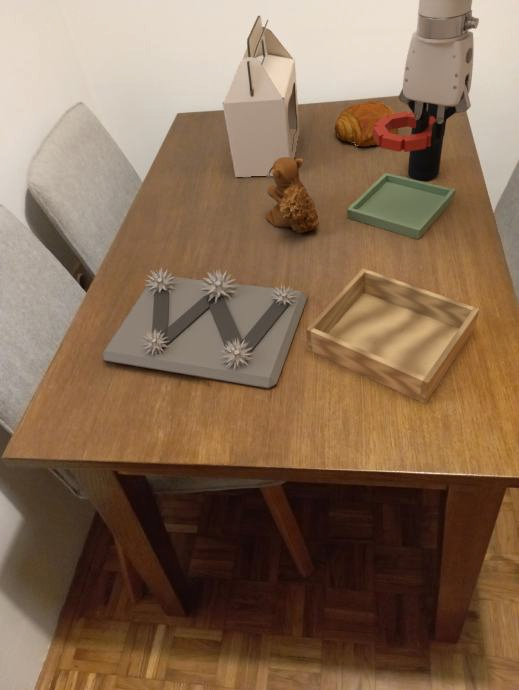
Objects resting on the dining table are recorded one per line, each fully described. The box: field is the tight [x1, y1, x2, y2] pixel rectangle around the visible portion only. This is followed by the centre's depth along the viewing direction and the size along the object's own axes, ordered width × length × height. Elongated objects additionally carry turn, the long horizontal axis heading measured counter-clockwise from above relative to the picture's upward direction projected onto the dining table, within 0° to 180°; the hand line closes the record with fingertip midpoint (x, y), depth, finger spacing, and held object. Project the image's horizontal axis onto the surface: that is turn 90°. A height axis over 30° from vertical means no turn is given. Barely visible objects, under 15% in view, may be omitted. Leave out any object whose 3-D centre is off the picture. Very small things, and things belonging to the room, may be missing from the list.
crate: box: [305, 267, 480, 404], centre depth 80 cm, size 20×17×5 cm
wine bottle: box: [407, 103, 444, 182], centre depth 103 cm, size 6×6×30 cm
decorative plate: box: [101, 267, 308, 389], centre depth 87 cm, size 30×22×7 cm
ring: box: [373, 111, 436, 153], centre depth 94 cm, size 11×11×2 cm
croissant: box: [334, 100, 399, 147], centre depth 127 cm, size 14×16×8 cm
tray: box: [346, 172, 457, 240], centre depth 106 cm, size 16×16×2 cm
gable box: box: [222, 15, 301, 178], centre depth 119 cm, size 22×13×28 cm, turn 172°
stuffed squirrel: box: [264, 157, 320, 234], centre depth 103 cm, size 10×14×13 cm
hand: (428, 139), depth 93 cm, fingers closed on ring, 2 cm apart
